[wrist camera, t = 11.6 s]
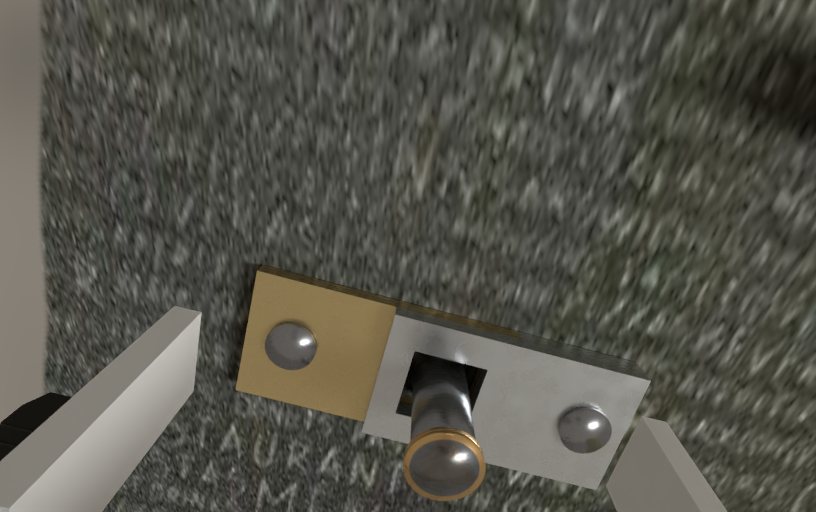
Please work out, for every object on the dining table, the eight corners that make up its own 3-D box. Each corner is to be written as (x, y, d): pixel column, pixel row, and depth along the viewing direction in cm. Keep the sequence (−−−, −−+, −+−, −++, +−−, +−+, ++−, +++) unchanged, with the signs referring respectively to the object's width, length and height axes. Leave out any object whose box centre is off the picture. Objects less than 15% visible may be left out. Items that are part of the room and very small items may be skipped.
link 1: (262, 264, 42) (254, 273, 40) (519, 331, 43) (523, 343, 41) (241, 380, 45) (233, 393, 43) (477, 439, 46) (480, 454, 44)
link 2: (397, 299, 42) (394, 317, 39) (635, 362, 43) (654, 384, 40) (365, 411, 46) (360, 436, 42) (585, 466, 47) (598, 495, 44)
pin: (418, 339, 43) (415, 425, 32) (477, 354, 44) (496, 445, 32) (402, 390, 45) (394, 490, 34) (459, 405, 45) (471, 508, 34)
